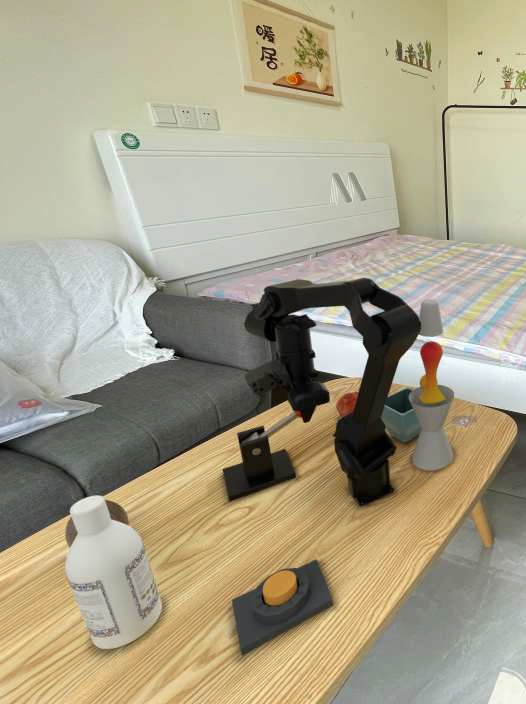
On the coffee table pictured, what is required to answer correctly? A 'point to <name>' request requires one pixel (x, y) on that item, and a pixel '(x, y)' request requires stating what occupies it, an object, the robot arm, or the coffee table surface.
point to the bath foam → (110, 576)
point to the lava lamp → (431, 397)
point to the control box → (280, 608)
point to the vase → (115, 514)
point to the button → (280, 588)
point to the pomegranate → (346, 404)
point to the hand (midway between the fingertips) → (304, 418)
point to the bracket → (257, 466)
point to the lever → (275, 427)
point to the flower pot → (401, 416)
